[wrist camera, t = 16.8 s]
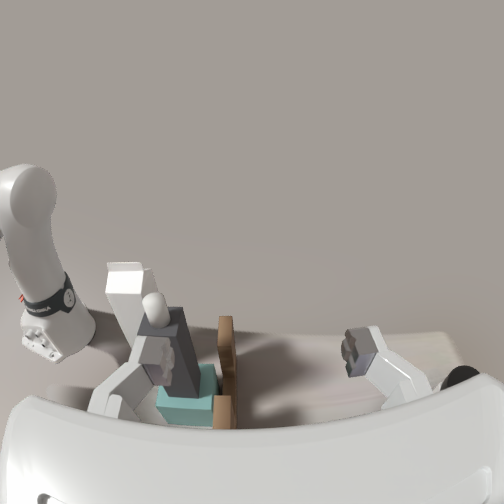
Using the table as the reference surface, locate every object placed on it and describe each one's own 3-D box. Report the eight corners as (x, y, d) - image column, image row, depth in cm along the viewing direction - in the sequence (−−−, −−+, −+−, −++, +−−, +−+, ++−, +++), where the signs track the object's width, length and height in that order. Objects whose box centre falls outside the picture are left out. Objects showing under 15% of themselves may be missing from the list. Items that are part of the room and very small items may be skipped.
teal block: (168, 423, 35) (155, 405, 32) (174, 384, 42) (163, 362, 38) (217, 426, 35) (211, 409, 32) (218, 385, 42) (213, 363, 38)
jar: (421, 450, 27) (462, 420, 21) (404, 414, 34) (437, 377, 27) (457, 427, 28) (496, 393, 22) (439, 396, 35) (472, 357, 29)
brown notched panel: (223, 460, 30) (212, 438, 24) (225, 358, 47) (219, 316, 41) (237, 460, 30) (230, 439, 24) (236, 358, 47) (232, 316, 41)
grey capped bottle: (168, 396, 33) (127, 314, 24) (172, 372, 37) (139, 286, 28) (198, 398, 33) (169, 315, 24) (201, 373, 37) (177, 286, 28)
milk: (171, 370, 45) (135, 275, 33) (141, 368, 45) (97, 275, 33) (175, 345, 50) (147, 250, 38) (147, 344, 50) (113, 252, 38)
